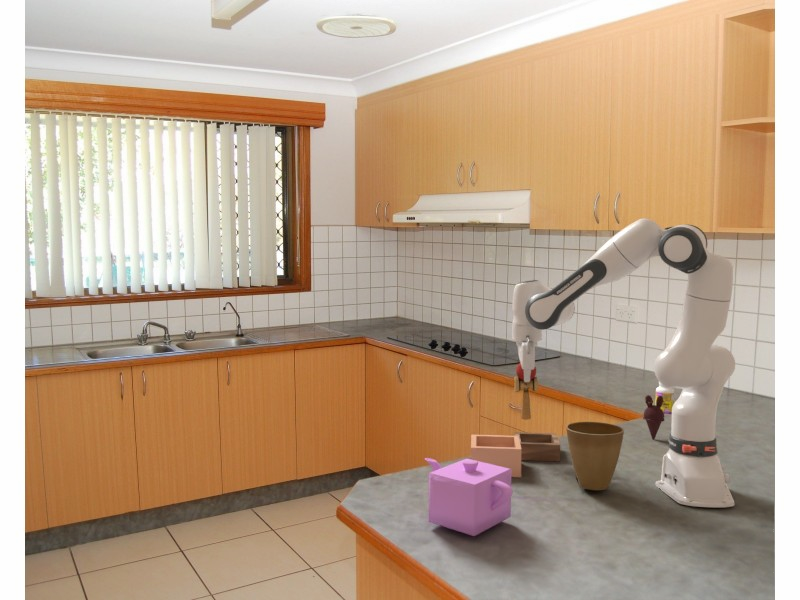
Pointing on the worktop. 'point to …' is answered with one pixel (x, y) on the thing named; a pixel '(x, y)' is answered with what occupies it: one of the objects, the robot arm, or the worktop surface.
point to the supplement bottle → (665, 397)
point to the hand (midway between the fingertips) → (526, 379)
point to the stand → (498, 451)
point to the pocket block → (539, 446)
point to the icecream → (653, 414)
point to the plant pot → (594, 452)
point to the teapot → (469, 495)
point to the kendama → (525, 389)
